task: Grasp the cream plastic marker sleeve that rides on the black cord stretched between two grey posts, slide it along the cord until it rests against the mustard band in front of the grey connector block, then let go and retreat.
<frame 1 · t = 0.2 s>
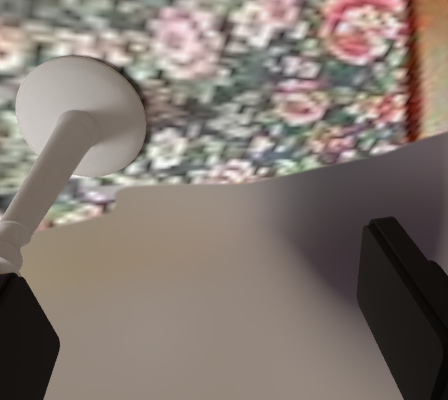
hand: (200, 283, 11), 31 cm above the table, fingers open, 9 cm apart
candlestick: (84, 119, 40), on the table
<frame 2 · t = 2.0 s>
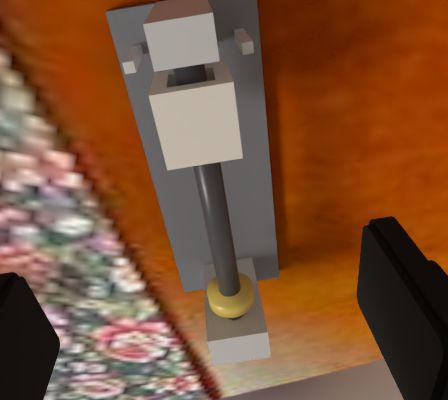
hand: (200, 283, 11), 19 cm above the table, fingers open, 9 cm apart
sleeve: (197, 114, 20), point 7 cm above the table, slide at -7.0 cm
comb rail: (211, 169, 30), on the table
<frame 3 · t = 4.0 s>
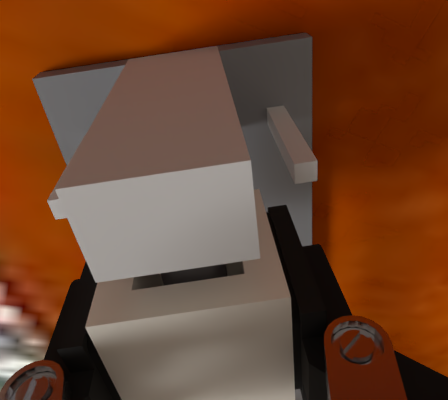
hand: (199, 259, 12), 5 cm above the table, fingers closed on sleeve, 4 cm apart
sleeve: (201, 302, 10), point 7 cm above the table, slide at -7.0 cm, touching gripper
comb rail: (219, 298, 19), on the table
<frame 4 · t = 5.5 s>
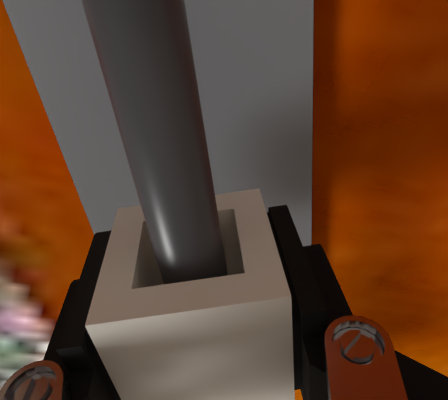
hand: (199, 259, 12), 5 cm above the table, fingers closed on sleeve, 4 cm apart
sleeve: (201, 302, 10), point 6 cm above the table, slide at -1.2 cm, touching gripper
comb rail: (201, 203, 16), on the table
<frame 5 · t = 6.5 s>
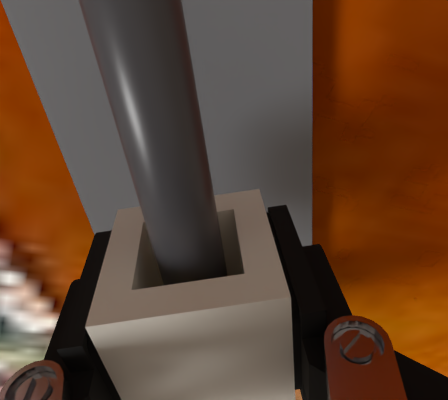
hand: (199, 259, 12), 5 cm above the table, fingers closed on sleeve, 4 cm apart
sleeve: (201, 302, 10), point 6 cm above the table, slide at 4.1 cm, touching gripper
comb rail: (178, 80, 13), on the table
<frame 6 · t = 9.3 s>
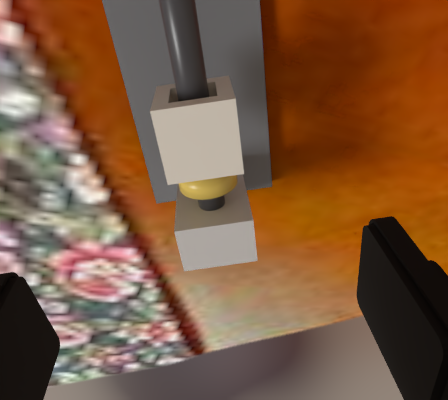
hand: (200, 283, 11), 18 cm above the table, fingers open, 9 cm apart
sleeve: (199, 128, 20), point 6 cm above the table, slide at 4.2 cm
comb rail: (186, 25, 24), on the table
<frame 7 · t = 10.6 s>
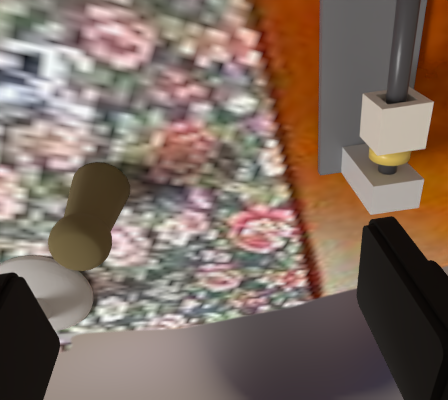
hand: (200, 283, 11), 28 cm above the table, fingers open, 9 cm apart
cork: (101, 186, 41), on the table
candlestick: (42, 292, 49), on the table
sleeve: (393, 120, 32), point 6 cm above the table, slide at 4.2 cm
comb rail: (367, 52, 35), on the table
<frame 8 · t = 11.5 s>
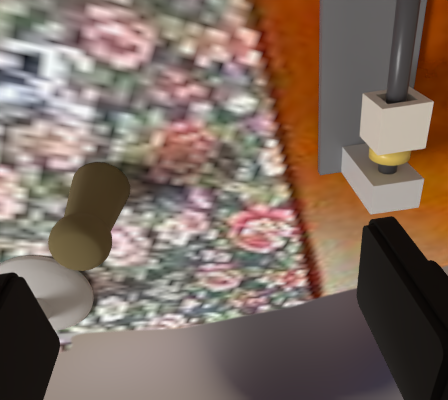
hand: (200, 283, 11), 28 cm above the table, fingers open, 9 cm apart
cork: (101, 186, 41), on the table
candlestick: (42, 292, 49), on the table
sleeve: (393, 120, 32), point 6 cm above the table, slide at 4.2 cm
comb rail: (367, 51, 35), on the table
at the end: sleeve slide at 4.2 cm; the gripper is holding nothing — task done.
